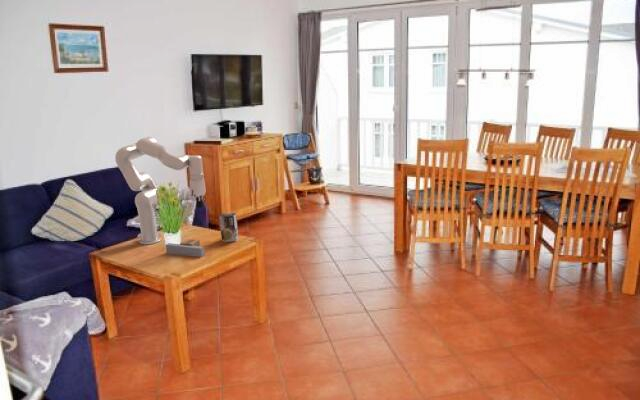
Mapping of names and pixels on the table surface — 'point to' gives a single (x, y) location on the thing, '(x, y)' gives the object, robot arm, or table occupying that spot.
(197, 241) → the walnut block
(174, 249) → the slate rail
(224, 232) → the coffee box
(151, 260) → the table surface
